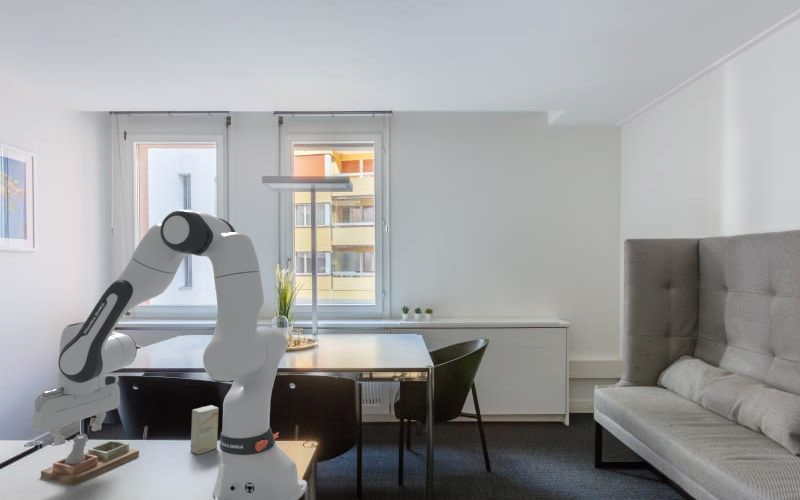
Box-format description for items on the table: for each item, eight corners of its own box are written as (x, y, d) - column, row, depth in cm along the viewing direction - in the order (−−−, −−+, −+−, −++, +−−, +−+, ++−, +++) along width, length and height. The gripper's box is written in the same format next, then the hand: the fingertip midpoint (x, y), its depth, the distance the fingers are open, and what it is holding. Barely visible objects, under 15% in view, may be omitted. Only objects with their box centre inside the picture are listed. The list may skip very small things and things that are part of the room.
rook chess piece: (88, 462, 115) (96, 435, 114) (73, 472, 110) (81, 443, 110) (74, 456, 115) (82, 429, 115) (59, 465, 111) (66, 437, 110)
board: (138, 455, 123) (139, 443, 123) (73, 485, 106) (73, 471, 106) (108, 449, 127) (109, 437, 127) (40, 477, 110) (41, 463, 110)
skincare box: (197, 455, 124) (199, 412, 125) (189, 451, 127) (191, 409, 127) (218, 448, 129) (219, 407, 130) (210, 444, 132) (211, 404, 132)
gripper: (44, 395, 103) (42, 454, 102) (124, 375, 122) (123, 424, 121) (26, 393, 105) (25, 451, 104) (108, 373, 124) (107, 422, 123)
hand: (78, 436), depth 113 cm, fingers open, 8 cm apart
